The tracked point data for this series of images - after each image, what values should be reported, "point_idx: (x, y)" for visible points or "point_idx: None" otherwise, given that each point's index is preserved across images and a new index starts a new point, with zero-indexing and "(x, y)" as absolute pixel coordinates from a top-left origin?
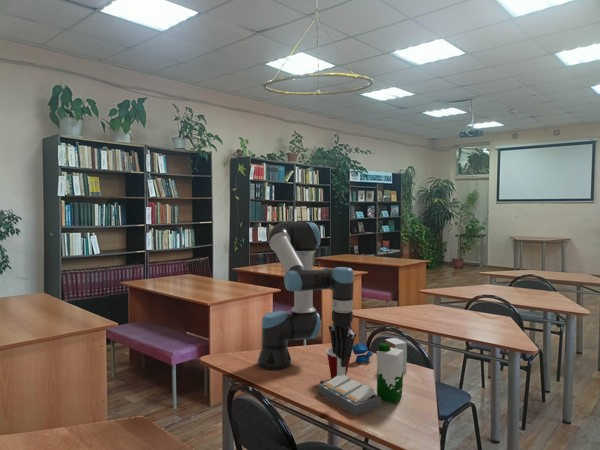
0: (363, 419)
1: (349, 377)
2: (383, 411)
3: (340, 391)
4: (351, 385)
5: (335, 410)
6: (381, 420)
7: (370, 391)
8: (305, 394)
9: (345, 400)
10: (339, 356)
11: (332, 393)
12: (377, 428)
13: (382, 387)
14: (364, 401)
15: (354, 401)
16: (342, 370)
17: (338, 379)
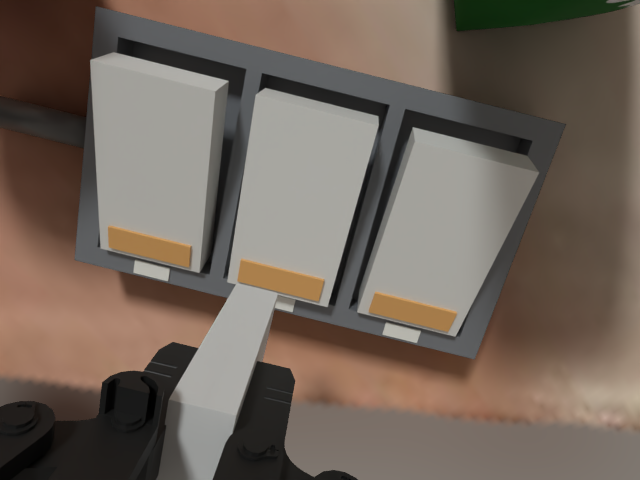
0: (516, 332)
1: (215, 94)
2: (576, 167)
3: (290, 293)
4: (311, 189)
5: (331, 345)
6: (613, 277)
7: (519, 208)
8: (66, 299)
9: (373, 332)
10: (158, 464)
11: None
12: (628, 365)
13: (553, 20)
14: (492, 273)
15: (445, 333)
16: (261, 354)
17: (150, 158)
